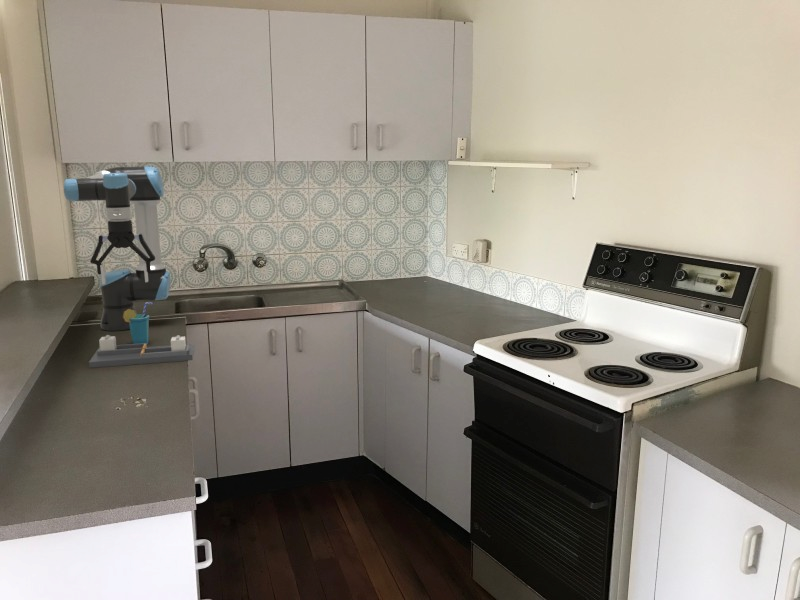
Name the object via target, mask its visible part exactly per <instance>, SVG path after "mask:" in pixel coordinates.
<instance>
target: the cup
mask: <svg viewBox="0 0 800 600" xmlns="http://www.w3.org/2000/svg"><path fill="white" fill-rule="evenodd" d="M147 305H148V306H149V305H154V302H152V301H151V302H150V301H149V302H148V301H147V302H145V303H144V305H143V311H142V313H137V314H136V313H135V311H134V310H131V309H128V310H126V311H125V312H124V314H123V319H124V321H125V322H129V325H130V329H129V331H130V334H131V340H132V344H139V343H146V344H147V345H148V344H149V320H150V315H149V314H146V310H147Z"/></svg>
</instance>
